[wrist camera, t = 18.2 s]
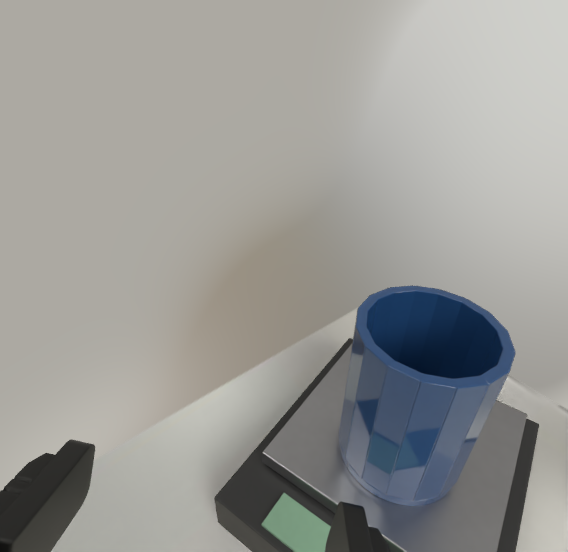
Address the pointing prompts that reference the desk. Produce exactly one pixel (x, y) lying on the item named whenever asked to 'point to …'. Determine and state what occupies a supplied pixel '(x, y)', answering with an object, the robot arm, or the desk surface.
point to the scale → (312, 514)
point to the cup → (419, 390)
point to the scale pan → (389, 516)
